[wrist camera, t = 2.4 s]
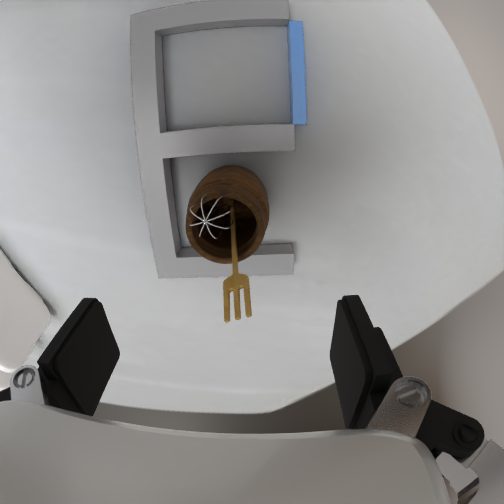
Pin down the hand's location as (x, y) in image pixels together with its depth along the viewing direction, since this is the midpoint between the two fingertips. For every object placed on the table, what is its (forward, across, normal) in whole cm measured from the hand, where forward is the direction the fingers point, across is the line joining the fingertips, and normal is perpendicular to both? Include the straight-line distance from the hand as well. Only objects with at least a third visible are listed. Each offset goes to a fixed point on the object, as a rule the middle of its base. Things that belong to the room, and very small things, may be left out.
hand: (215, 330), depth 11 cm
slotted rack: (+16, +2, -6) cm, 17 cm away
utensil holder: (+16, +1, -1) cm, 16 cm away
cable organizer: (+16, +32, +9) cm, 37 cm away
